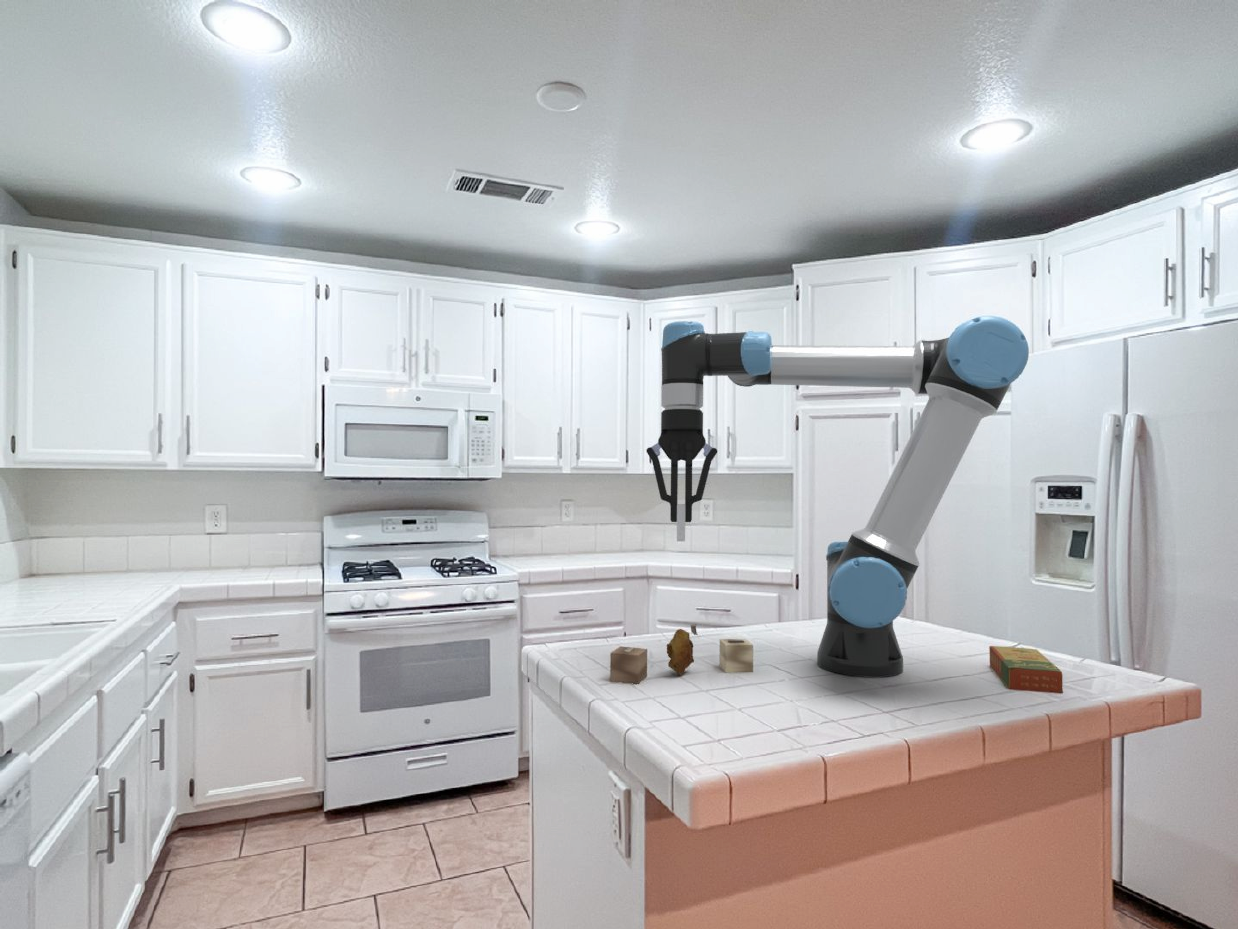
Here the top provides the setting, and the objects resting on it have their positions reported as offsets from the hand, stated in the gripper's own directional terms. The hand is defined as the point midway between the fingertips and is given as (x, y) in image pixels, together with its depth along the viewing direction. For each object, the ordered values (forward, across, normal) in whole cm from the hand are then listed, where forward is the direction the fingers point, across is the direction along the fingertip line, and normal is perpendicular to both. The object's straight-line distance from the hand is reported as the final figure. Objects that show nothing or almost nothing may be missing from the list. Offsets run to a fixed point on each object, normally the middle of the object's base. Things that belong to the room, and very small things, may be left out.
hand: (680, 540), depth 131 cm
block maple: (+24, -10, -4) cm, 26 cm away
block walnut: (+24, +9, +5) cm, 26 cm away
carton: (+24, -60, -3) cm, 65 cm away
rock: (+24, -1, 0) cm, 24 cm away
